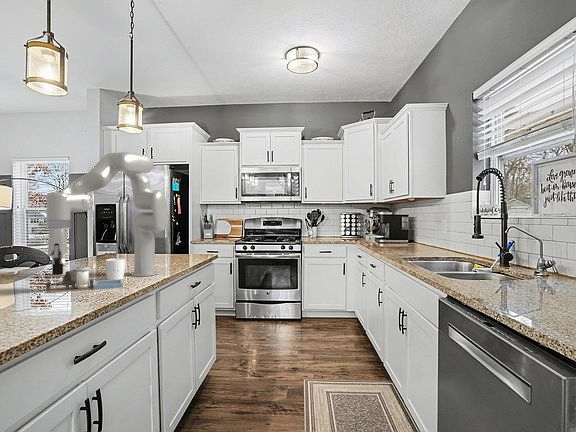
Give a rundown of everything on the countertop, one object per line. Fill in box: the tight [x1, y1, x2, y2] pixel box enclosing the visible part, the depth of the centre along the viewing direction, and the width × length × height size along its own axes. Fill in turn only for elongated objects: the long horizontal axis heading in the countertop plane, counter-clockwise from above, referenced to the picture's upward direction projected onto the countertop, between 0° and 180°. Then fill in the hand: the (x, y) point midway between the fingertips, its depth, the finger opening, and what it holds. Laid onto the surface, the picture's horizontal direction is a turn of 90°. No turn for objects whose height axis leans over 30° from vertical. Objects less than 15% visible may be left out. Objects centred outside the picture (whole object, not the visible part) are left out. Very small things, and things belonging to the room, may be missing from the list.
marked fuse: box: [51, 253, 67, 277], centre depth 129 cm, size 4×4×8 cm
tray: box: [92, 278, 124, 291], centre depth 136 cm, size 10×10×3 cm
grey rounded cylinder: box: [75, 266, 90, 289], centre depth 133 cm, size 4×4×8 cm
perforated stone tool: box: [62, 269, 77, 286], centre depth 145 cm, size 15×5×7 cm, turn 4°
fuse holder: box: [44, 278, 94, 294], centre depth 131 cm, size 10×15×4 cm, turn 116°
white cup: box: [105, 257, 126, 280], centre depth 154 cm, size 8×8×10 cm
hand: (58, 273), depth 129 cm, fingers closed on marked fuse, 4 cm apart
